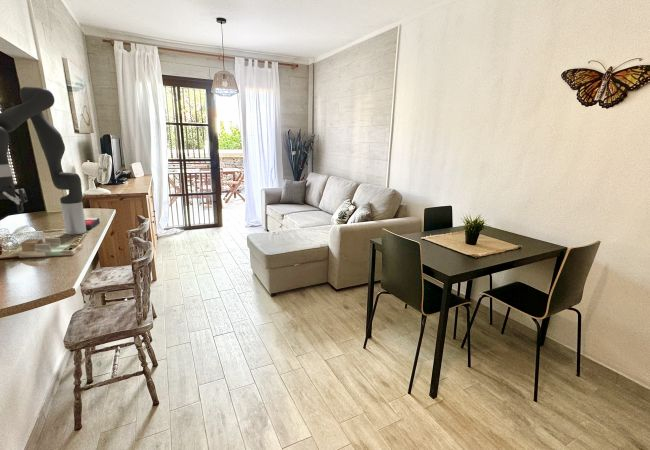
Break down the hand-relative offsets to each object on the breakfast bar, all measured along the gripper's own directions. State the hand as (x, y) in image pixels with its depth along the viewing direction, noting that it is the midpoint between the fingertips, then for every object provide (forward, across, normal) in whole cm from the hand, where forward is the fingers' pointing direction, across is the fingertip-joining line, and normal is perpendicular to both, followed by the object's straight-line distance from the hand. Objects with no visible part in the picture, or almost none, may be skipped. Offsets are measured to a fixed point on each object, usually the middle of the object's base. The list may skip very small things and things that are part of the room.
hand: (8, 212), depth 138 cm
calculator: (+20, -10, -48) cm, 53 cm away
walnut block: (+18, -6, -1) cm, 18 cm away
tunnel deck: (+20, -12, -1) cm, 23 cm away
